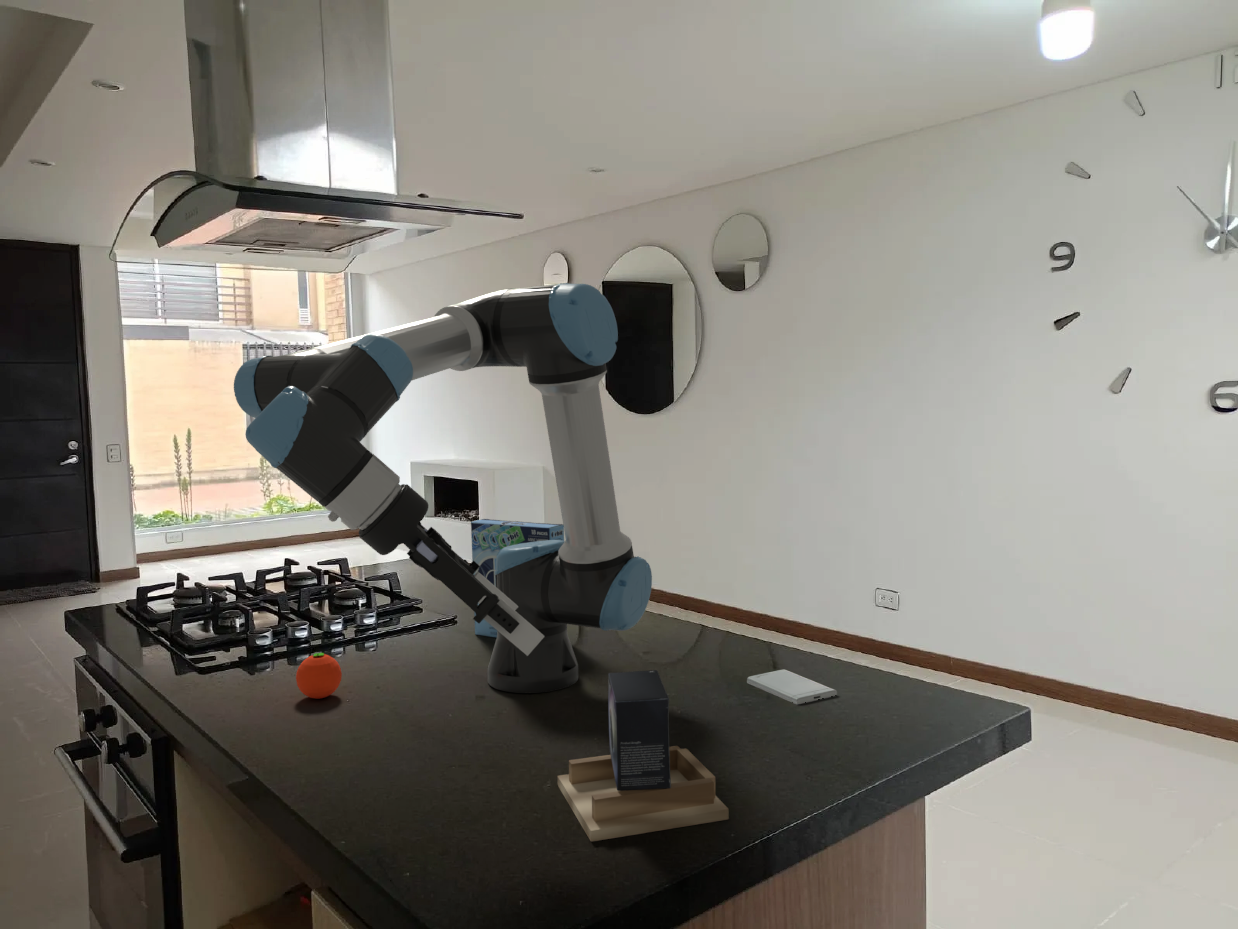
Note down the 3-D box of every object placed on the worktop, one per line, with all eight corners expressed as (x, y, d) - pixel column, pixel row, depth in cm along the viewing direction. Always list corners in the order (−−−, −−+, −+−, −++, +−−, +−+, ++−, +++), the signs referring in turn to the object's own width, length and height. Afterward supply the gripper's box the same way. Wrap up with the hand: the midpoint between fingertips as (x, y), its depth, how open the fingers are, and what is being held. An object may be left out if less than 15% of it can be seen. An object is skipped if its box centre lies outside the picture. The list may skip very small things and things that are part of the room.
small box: (606, 755, 112) (605, 670, 112) (659, 752, 113) (659, 668, 112) (614, 792, 102) (612, 699, 101) (672, 789, 102) (671, 697, 102)
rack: (557, 785, 113) (557, 755, 112) (680, 768, 117) (679, 739, 117) (590, 841, 98) (590, 808, 98) (728, 819, 103) (728, 787, 103)
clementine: (299, 691, 150) (297, 648, 150) (343, 687, 152) (342, 644, 151) (294, 706, 142) (292, 661, 142) (341, 702, 144) (339, 657, 144)
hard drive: (746, 676, 151) (796, 697, 140) (785, 668, 155) (837, 688, 145) (746, 686, 151) (796, 708, 141) (785, 678, 155) (837, 698, 145)
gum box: (567, 641, 178) (565, 524, 176) (552, 648, 174) (550, 527, 172) (489, 629, 188) (486, 517, 186) (472, 635, 184) (469, 521, 182)
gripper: (351, 517, 110) (481, 626, 116) (359, 554, 86) (522, 689, 92) (394, 470, 111) (521, 581, 117) (414, 494, 87) (572, 632, 93)
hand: (522, 629), depth 105 cm, fingers open, 13 cm apart
